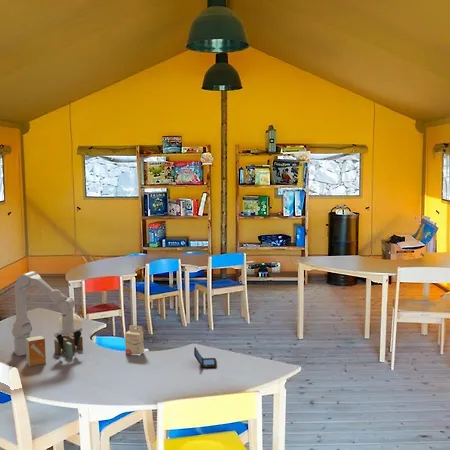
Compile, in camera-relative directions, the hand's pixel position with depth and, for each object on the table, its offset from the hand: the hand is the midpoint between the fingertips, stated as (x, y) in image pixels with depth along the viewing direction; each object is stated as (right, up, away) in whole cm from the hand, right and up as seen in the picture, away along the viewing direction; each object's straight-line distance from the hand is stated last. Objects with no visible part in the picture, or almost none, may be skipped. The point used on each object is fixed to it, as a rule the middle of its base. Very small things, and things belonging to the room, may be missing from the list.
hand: (69, 347), depth 294 cm
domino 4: (0, -5, +1) cm, 5 cm away
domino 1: (-7, -4, +5) cm, 10 cm away
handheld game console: (+71, -6, -14) cm, 73 cm away
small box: (-14, -6, -9) cm, 18 cm away
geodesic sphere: (-9, -1, +35) cm, 36 cm away
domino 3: (-1, -4, +10) cm, 11 cm away
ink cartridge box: (+34, -4, +2) cm, 34 cm away
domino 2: (-4, -4, +8) cm, 9 cm away
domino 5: (+2, -3, +12) cm, 13 cm away
